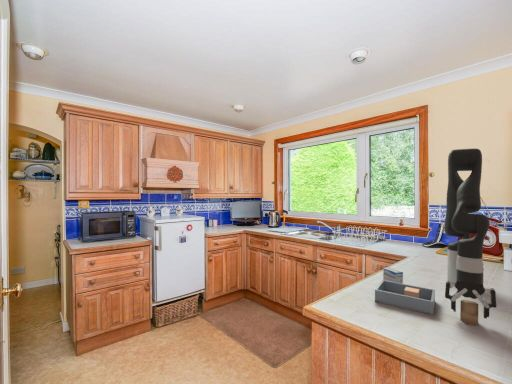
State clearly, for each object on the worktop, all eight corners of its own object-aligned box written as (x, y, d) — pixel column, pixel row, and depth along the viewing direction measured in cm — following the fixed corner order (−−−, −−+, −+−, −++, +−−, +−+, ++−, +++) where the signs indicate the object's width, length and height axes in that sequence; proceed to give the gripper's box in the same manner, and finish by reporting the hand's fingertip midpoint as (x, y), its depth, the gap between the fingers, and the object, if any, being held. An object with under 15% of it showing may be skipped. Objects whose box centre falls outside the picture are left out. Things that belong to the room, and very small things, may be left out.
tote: (382, 290, 124) (382, 279, 124) (434, 301, 112) (435, 289, 112) (374, 301, 112) (374, 289, 112) (433, 315, 100) (433, 302, 100)
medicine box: (382, 285, 131) (382, 268, 131) (389, 284, 133) (389, 267, 133) (396, 291, 124) (396, 272, 124) (403, 290, 125) (403, 271, 125)
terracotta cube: (405, 298, 114) (405, 286, 114) (419, 301, 111) (419, 289, 111) (404, 302, 110) (404, 290, 110) (418, 305, 107) (418, 292, 107)
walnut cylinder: (460, 317, 98) (460, 298, 98) (477, 321, 95) (477, 301, 95) (460, 322, 94) (460, 303, 94) (478, 326, 91) (479, 306, 91)
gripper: (494, 270, 93) (494, 316, 93) (445, 263, 102) (445, 305, 102) (497, 275, 87) (497, 324, 87) (445, 267, 96) (444, 312, 96)
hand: (469, 314), depth 94 cm, fingers open, 8 cm apart
